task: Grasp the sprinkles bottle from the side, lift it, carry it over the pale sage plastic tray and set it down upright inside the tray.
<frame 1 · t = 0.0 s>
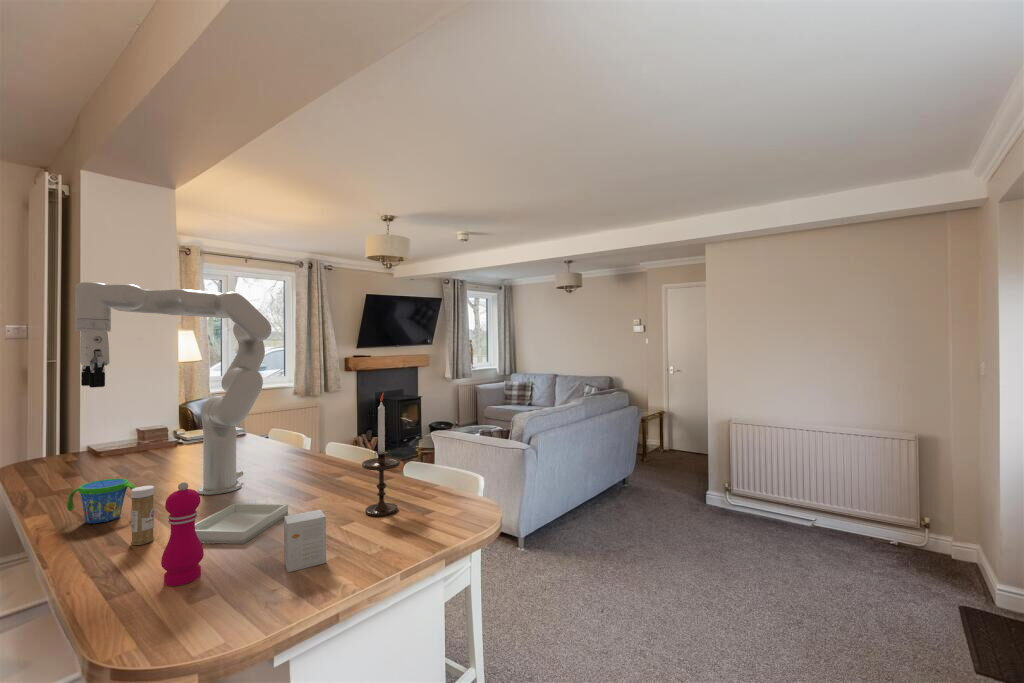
hand: (93, 386, 132), 37 cm above the counter, tool pointing down, fingers open, 9 cm apart
tray: (238, 527, 124), on the counter
sprinkles bottle: (142, 543, 115), on the counter
small box: (304, 564, 103), on the counter
pepper mill: (182, 579, 97), on the counter
candlestick: (381, 511, 136), on the counter
snack cup: (103, 520, 130), on the counter
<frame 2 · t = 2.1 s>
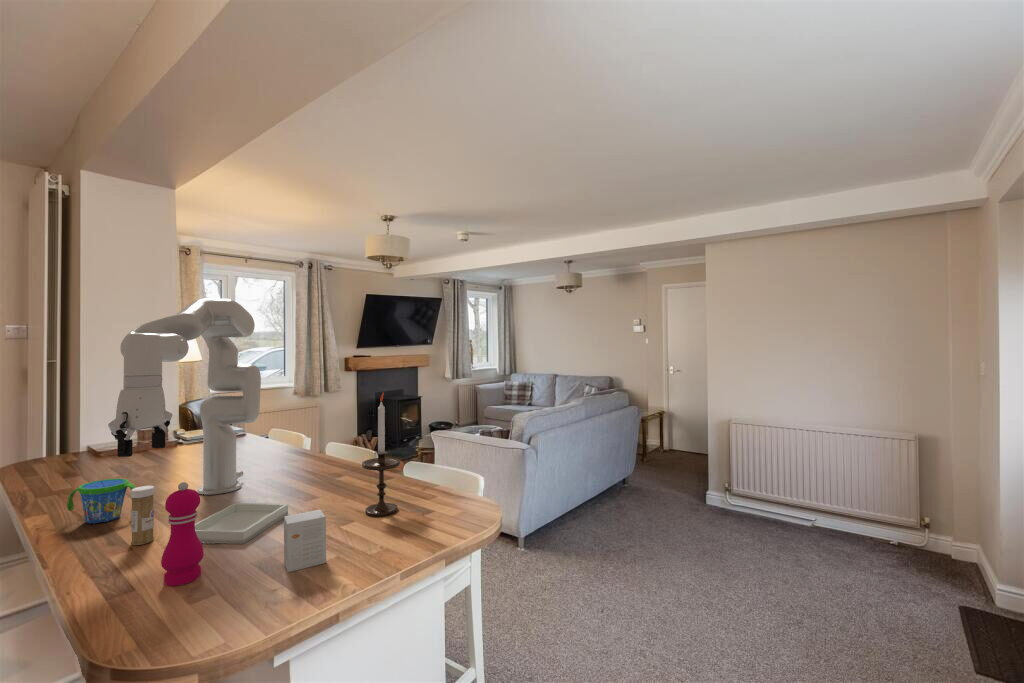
hand: (142, 452, 115), 22 cm above the counter, tool pointing down, fingers open, 9 cm apart
nothing on the counter moved.
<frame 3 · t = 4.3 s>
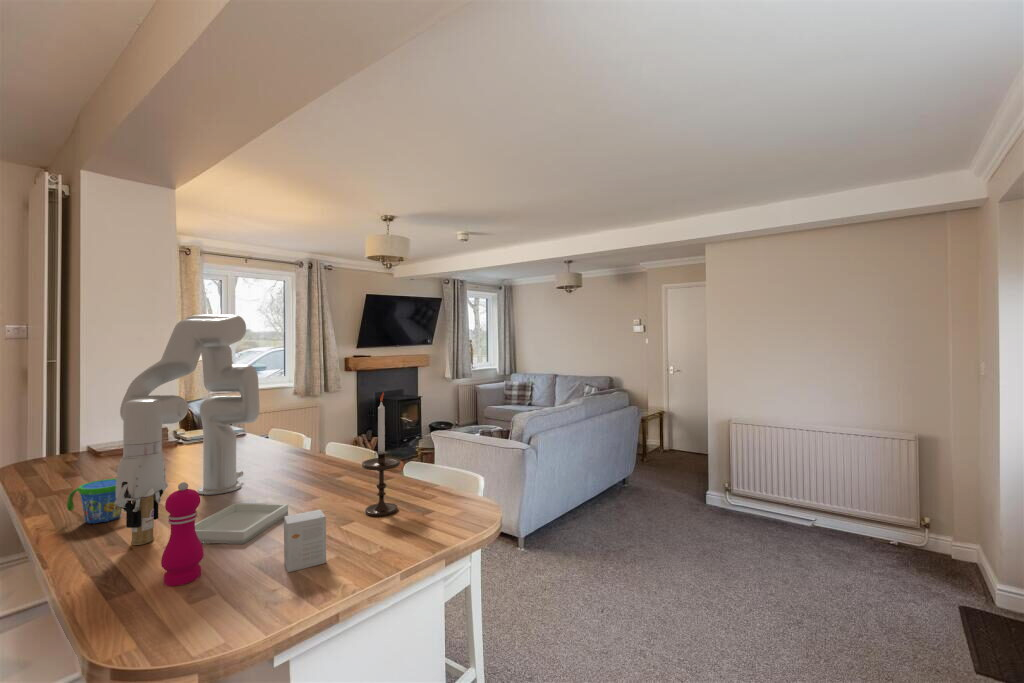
hand: (142, 522, 115), 5 cm above the counter, tool pointing down, fingers closed on sprinkles bottle, 4 cm apart
sprinkles bottle: (142, 542, 115), on the counter, touching gripper
everything else where it was.
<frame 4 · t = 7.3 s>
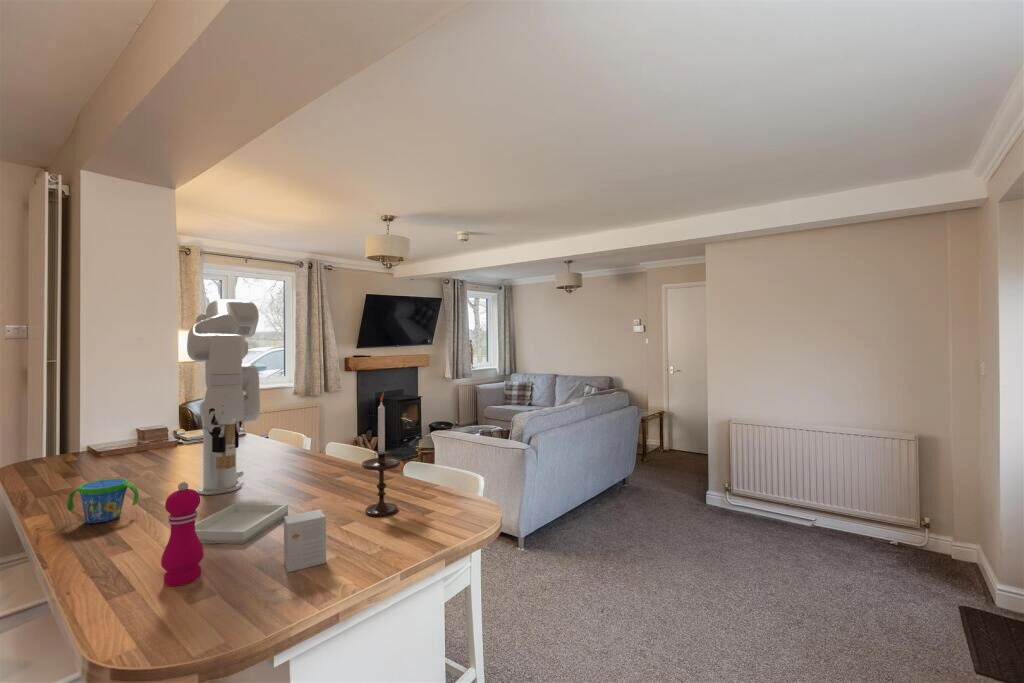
hand: (225, 449, 123), 21 cm above the counter, tool pointing down, fingers closed on sprinkles bottle, 4 cm apart
sprinkles bottle: (225, 468, 123), point 16 cm above the counter, touching gripper
everything else where it was.
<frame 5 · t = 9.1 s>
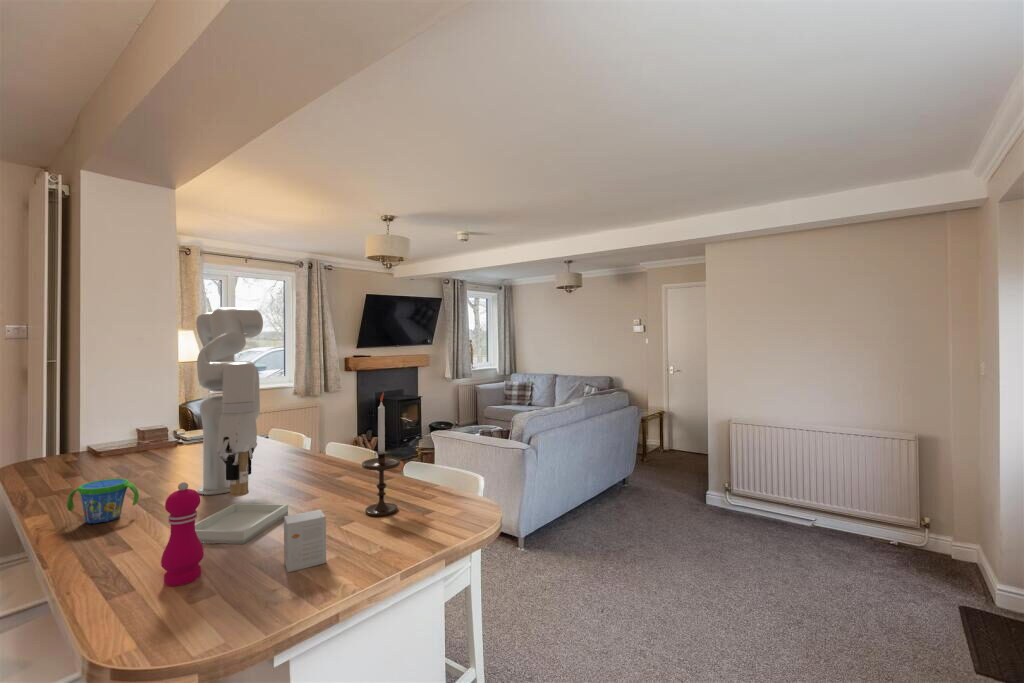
hand: (238, 476, 124), 14 cm above the counter, tool pointing down, fingers closed on sprinkles bottle, 4 cm apart
sprinkles bottle: (238, 495, 124), point 9 cm above the counter, touching gripper
everything else where it was.
when the fingers open (7 cm above the counter, at t = 10.6 s): sprinkles bottle drops 1 cm, resting on tray.
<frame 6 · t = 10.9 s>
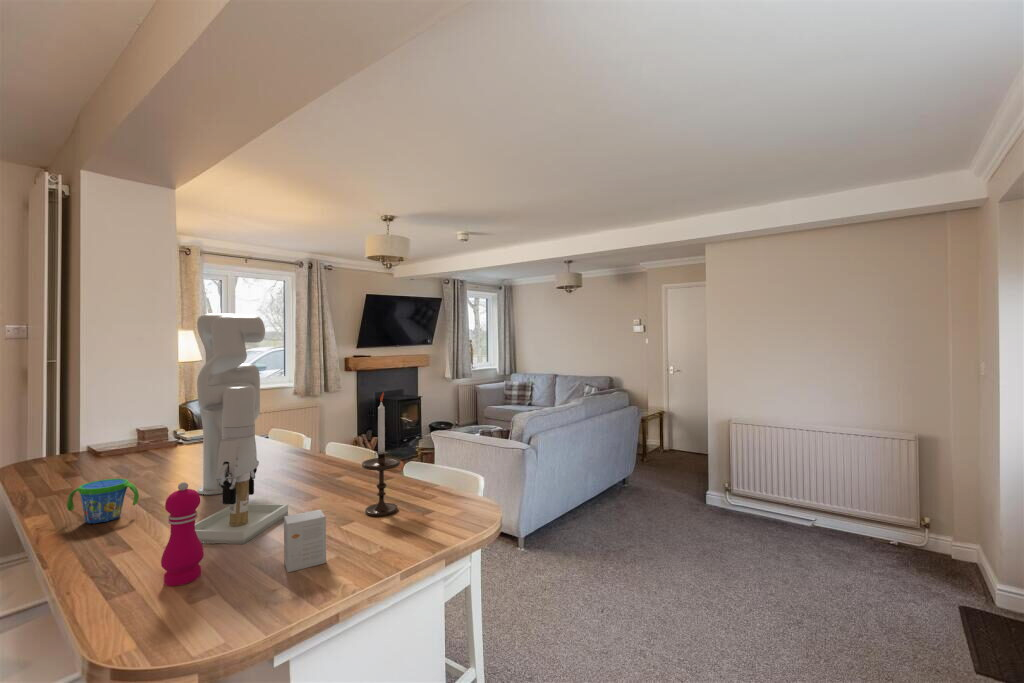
hand: (238, 498, 124), 8 cm above the counter, tool pointing down, fingers open, 7 cm apart
sprinkles bottle: (238, 524, 124), point 1 cm above the counter, touching tray
everything else where it was.
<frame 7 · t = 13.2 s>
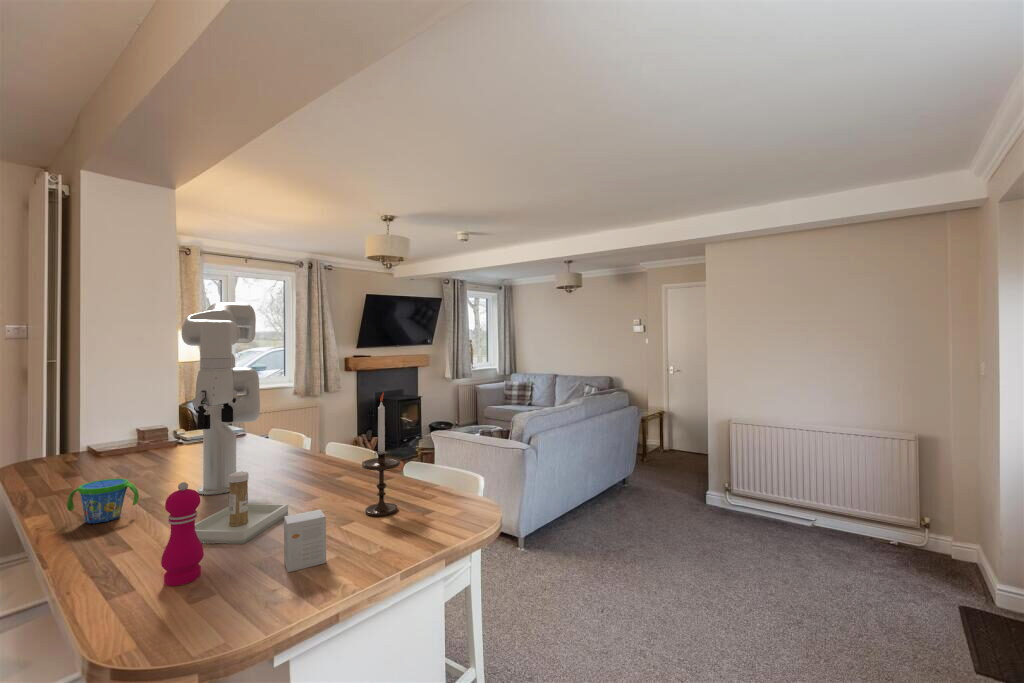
hand: (216, 425, 131), 26 cm above the counter, tool pointing down, fingers open, 9 cm apart
nothing on the counter moved.
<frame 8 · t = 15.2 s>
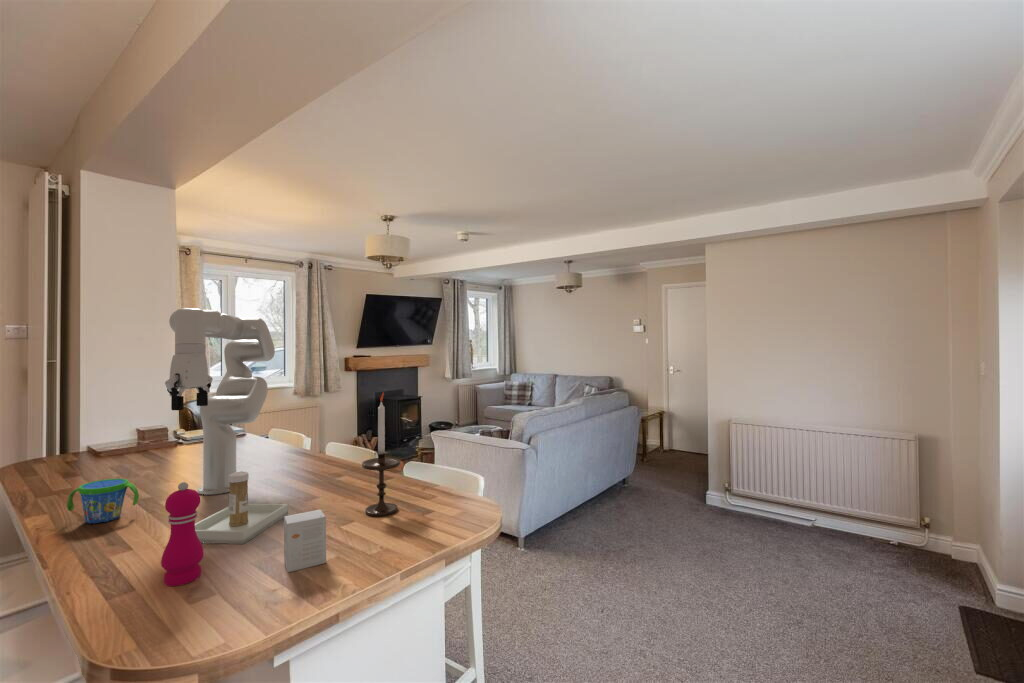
hand: (190, 407, 138), 30 cm above the counter, tool pointing down, fingers open, 9 cm apart
nothing on the counter moved.
at the end: sprinkles bottle inside the target area on the tray (0.1 cm from its centre), point 0.8 cm above the tray's base; sprinkles bottle tilted 0°; the gripper is holding nothing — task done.
